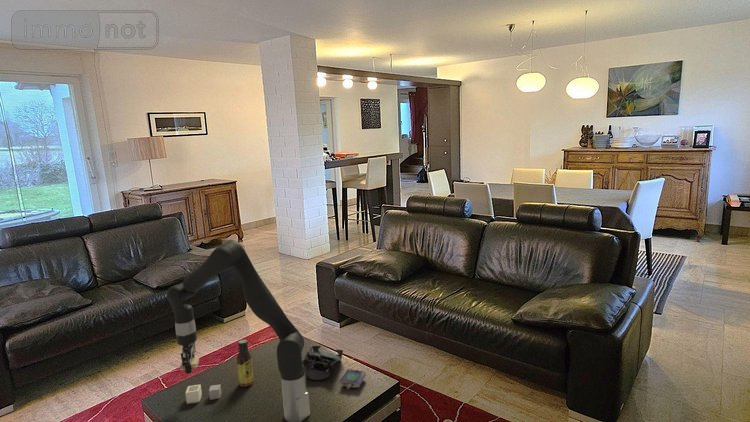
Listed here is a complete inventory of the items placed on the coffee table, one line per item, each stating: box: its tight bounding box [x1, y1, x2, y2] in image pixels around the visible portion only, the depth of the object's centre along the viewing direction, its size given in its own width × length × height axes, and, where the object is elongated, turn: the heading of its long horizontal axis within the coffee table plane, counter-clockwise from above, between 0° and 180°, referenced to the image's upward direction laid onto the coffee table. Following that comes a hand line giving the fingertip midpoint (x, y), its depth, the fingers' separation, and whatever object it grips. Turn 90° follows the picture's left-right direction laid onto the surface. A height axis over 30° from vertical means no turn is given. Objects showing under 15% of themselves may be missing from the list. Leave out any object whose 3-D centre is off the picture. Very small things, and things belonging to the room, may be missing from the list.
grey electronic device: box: [339, 368, 367, 390], centre depth 183 cm, size 9×3×11 cm
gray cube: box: [208, 384, 222, 401], centre depth 179 cm, size 4×4×4 cm
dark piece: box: [302, 345, 344, 381], centre depth 196 cm, size 18×20×9 cm
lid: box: [179, 356, 200, 371], centre depth 175 cm, size 6×6×3 cm
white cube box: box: [185, 384, 203, 405], centre depth 177 cm, size 5×5×5 cm
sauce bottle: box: [236, 339, 254, 388], centre depth 186 cm, size 6×6×20 cm
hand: (190, 368), depth 175 cm, fingers closed on lid, 6 cm apart
